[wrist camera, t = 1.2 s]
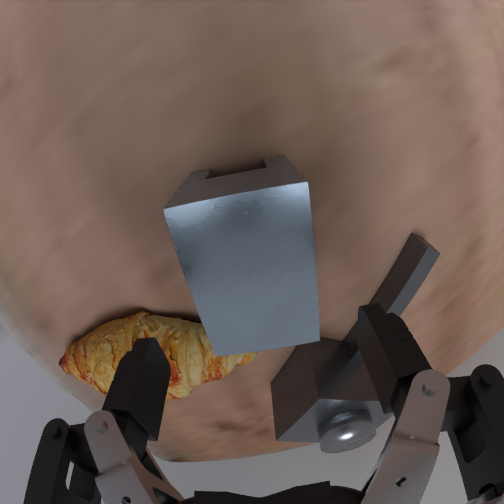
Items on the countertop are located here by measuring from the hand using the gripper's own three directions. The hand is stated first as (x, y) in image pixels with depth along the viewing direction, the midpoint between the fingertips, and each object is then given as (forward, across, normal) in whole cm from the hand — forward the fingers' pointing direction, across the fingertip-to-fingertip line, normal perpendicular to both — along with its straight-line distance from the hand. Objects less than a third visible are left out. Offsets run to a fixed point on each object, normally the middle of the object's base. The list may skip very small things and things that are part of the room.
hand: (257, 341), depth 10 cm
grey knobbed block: (+10, -8, +11) cm, 17 cm away
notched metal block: (+10, 0, 0) cm, 10 cm away
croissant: (+11, +12, +10) cm, 19 cm away
